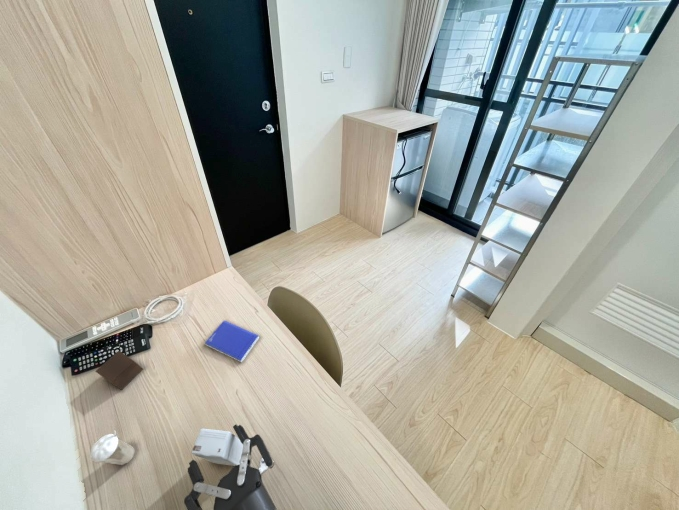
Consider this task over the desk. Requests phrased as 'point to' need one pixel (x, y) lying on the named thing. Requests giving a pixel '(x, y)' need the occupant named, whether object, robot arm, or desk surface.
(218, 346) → the hard drive
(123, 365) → the walnut cube
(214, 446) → the cosmetic box
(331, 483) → the desk surface
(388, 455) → the desk surface
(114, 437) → the milkshake
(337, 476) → the desk surface
